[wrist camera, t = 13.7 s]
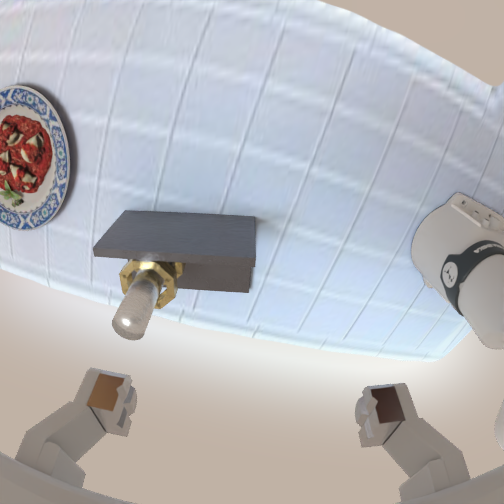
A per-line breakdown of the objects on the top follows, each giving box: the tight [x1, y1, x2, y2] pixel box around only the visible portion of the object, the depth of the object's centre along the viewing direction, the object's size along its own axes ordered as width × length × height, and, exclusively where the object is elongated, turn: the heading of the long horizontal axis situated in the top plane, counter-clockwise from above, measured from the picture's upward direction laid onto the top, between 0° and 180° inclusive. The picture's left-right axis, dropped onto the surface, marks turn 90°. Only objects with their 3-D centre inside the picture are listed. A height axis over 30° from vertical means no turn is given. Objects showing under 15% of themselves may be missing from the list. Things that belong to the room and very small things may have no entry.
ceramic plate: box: [0, 85, 70, 231], centre depth 39 cm, size 26×26×3 cm
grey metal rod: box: [112, 262, 172, 340], centre depth 41 cm, size 4×4×17 cm
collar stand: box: [93, 211, 256, 309], centre depth 44 cm, size 20×13×12 cm, turn 86°
